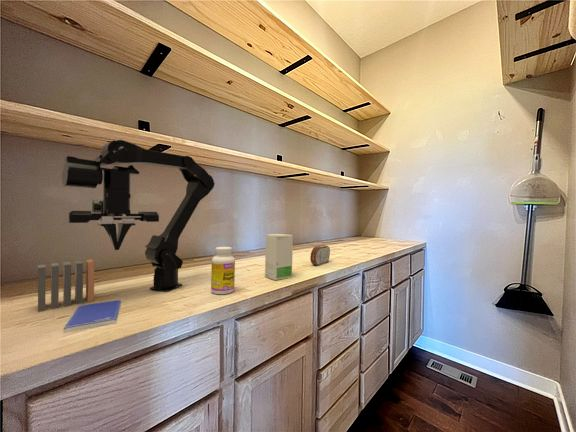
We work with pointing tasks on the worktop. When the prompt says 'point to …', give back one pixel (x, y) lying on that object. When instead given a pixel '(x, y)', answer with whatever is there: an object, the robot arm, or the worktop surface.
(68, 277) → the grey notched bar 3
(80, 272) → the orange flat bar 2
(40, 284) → the domino
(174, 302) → the worktop surface
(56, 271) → the domino
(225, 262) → the supplement bottle
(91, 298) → the domino
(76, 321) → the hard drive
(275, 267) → the skincare box
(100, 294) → the worktop surface
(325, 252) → the tin
